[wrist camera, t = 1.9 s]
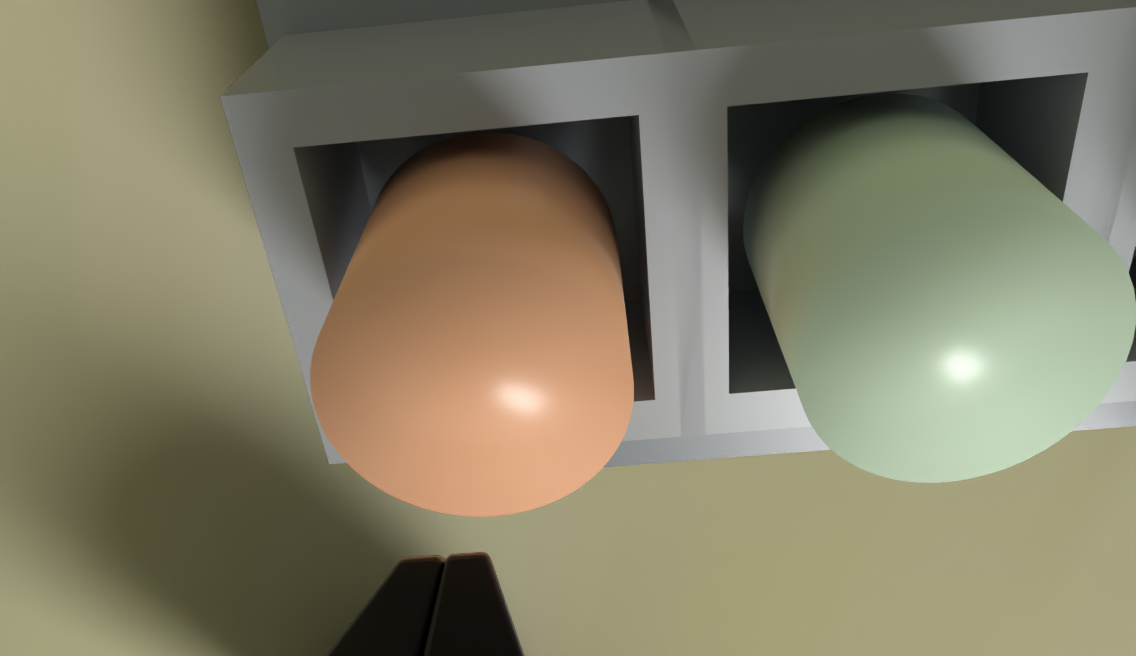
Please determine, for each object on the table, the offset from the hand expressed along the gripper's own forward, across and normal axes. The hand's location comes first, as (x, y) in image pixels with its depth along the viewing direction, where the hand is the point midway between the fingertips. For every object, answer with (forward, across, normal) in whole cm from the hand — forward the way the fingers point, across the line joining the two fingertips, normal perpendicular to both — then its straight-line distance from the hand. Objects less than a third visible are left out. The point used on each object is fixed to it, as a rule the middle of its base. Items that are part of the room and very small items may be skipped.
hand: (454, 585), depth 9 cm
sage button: (+7, -6, 0) cm, 9 cm away
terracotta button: (+7, 0, 0) cm, 7 cm away
